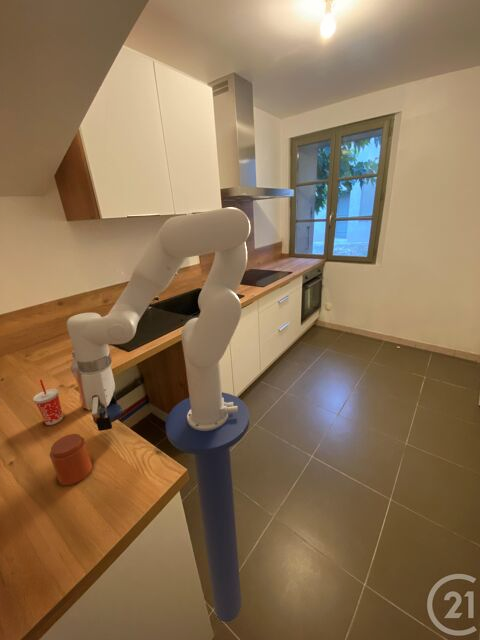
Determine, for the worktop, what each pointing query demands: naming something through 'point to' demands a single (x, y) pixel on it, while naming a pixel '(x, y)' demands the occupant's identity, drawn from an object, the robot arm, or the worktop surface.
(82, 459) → the jar
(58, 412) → the beverage cup
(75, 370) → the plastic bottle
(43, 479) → the worktop surface
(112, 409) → the lid
